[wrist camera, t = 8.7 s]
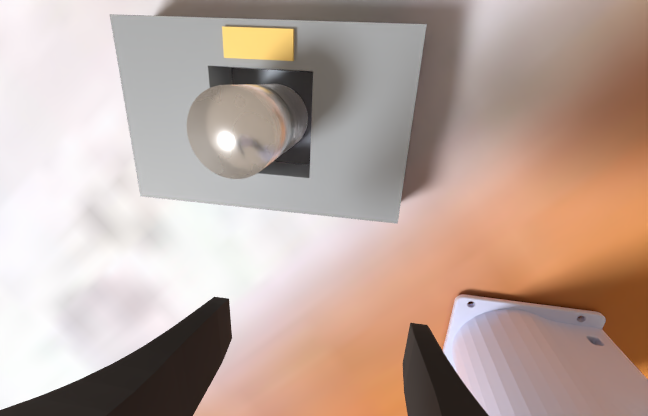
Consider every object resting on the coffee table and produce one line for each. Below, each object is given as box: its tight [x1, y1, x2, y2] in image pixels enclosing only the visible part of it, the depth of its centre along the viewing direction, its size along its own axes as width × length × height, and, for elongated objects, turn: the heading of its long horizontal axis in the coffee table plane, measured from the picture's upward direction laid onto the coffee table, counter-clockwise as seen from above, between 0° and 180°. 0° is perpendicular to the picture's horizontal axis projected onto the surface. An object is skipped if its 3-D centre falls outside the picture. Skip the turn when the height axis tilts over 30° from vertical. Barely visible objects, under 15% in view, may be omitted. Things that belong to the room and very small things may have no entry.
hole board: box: [110, 14, 427, 223], centre depth 19 cm, size 16×10×3 cm, turn 87°
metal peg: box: [187, 84, 308, 179], centre depth 17 cm, size 4×4×7 cm
